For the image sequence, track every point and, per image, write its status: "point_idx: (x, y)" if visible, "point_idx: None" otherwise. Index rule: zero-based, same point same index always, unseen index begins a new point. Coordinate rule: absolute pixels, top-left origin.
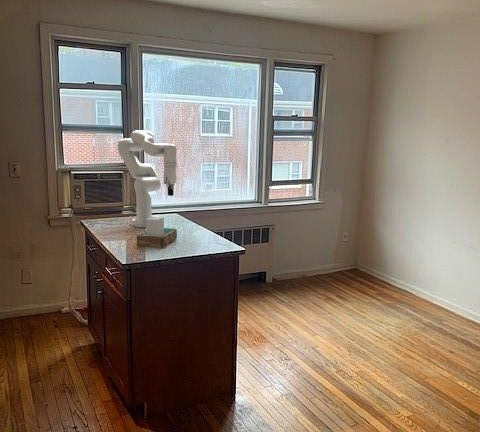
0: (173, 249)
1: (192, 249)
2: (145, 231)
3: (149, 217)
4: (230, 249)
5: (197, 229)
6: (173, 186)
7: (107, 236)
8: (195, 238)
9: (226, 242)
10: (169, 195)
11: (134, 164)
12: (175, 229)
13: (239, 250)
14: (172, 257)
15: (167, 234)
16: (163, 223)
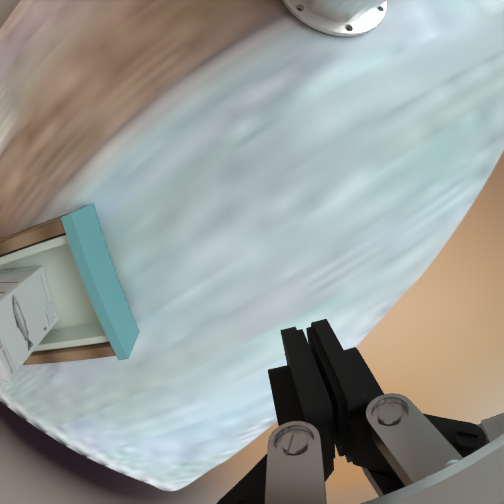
0: (40, 374)
1: (82, 418)
2: (5, 243)
3: (348, 2)
4: (157, 479)
5: (377, 293)
6: (397, 481)
7: (37, 12)
8: (207, 376)
9: (218, 459)
10: (285, 354)
11: None
12: (117, 355)
13: (164, 490)
14: (3, 397)
15: (38, 361)
16: (20, 363)
